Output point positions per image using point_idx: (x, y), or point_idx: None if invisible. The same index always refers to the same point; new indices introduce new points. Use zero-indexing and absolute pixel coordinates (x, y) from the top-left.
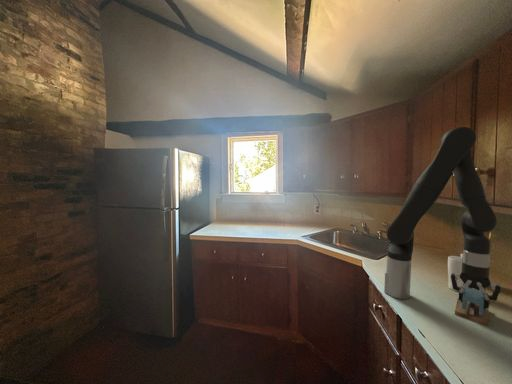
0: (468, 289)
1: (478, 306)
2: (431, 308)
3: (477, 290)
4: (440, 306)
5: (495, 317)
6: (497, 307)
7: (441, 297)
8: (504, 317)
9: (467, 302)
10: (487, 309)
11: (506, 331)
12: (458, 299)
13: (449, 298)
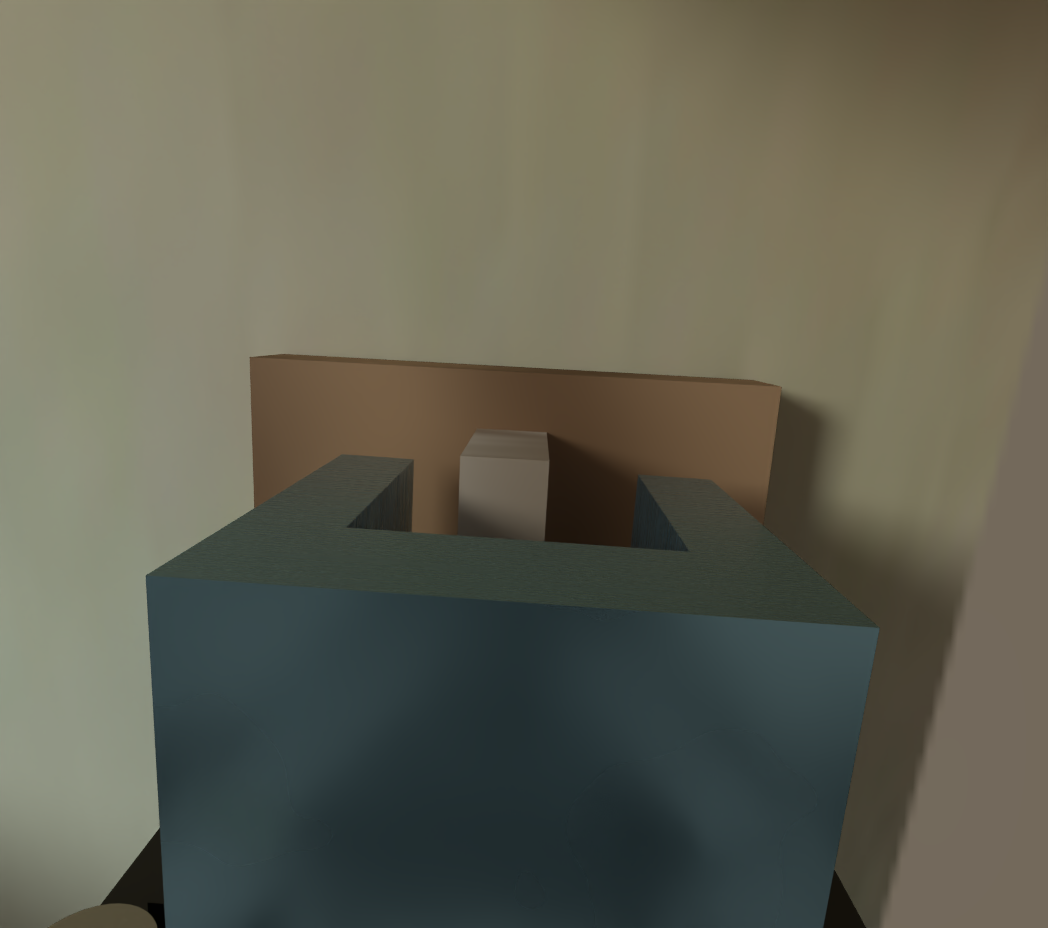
0: (300, 814)
1: (608, 481)
2: (4, 920)
3: (620, 666)
4: (88, 766)
5: (822, 560)
6: (946, 35)
7: (20, 369)
8: (961, 451)
9: (426, 439)
10: (748, 506)
11: (876, 904)
12: (268, 412)
13: (144, 300)
